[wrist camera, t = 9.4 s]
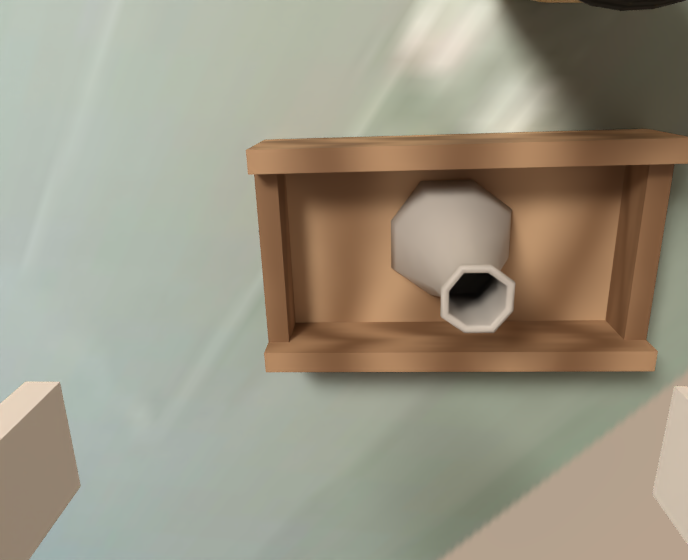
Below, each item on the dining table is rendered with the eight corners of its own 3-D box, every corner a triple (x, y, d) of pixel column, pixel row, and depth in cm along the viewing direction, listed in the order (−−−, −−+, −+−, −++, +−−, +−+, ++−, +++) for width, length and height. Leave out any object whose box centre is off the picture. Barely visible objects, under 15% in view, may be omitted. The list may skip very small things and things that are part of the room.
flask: (485, 309, 35) (525, 395, 25) (372, 275, 34) (370, 350, 25) (531, 197, 32) (595, 246, 23) (410, 160, 32) (424, 194, 22)
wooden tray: (280, 334, 37) (265, 372, 32) (264, 139, 33) (245, 150, 28) (617, 332, 36) (654, 371, 31) (646, 128, 31) (694, 137, 27)
